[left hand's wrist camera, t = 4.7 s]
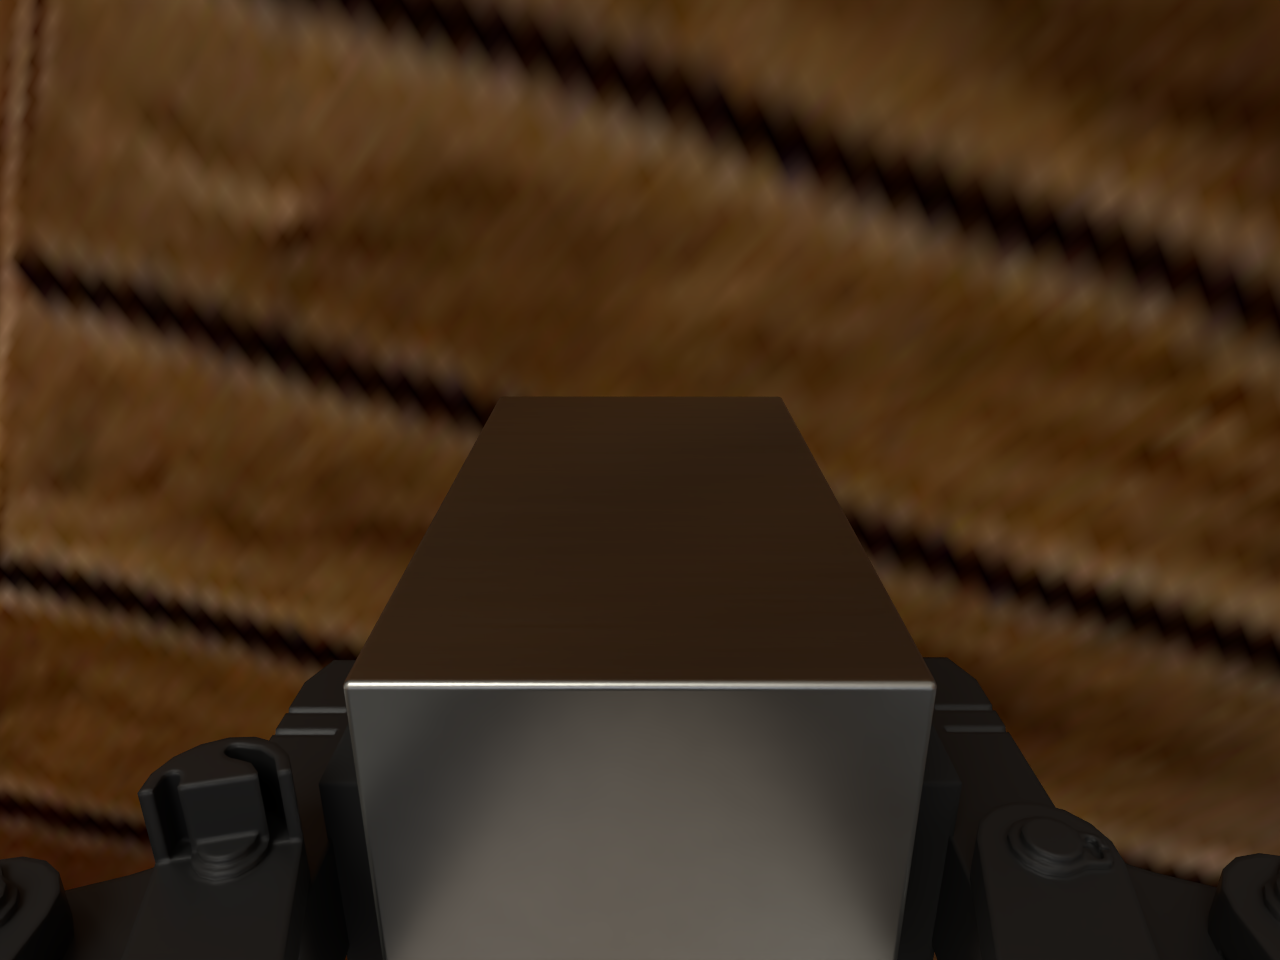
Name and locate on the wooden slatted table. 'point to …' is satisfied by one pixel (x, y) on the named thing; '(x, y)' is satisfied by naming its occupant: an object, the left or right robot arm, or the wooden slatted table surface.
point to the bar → (640, 701)
